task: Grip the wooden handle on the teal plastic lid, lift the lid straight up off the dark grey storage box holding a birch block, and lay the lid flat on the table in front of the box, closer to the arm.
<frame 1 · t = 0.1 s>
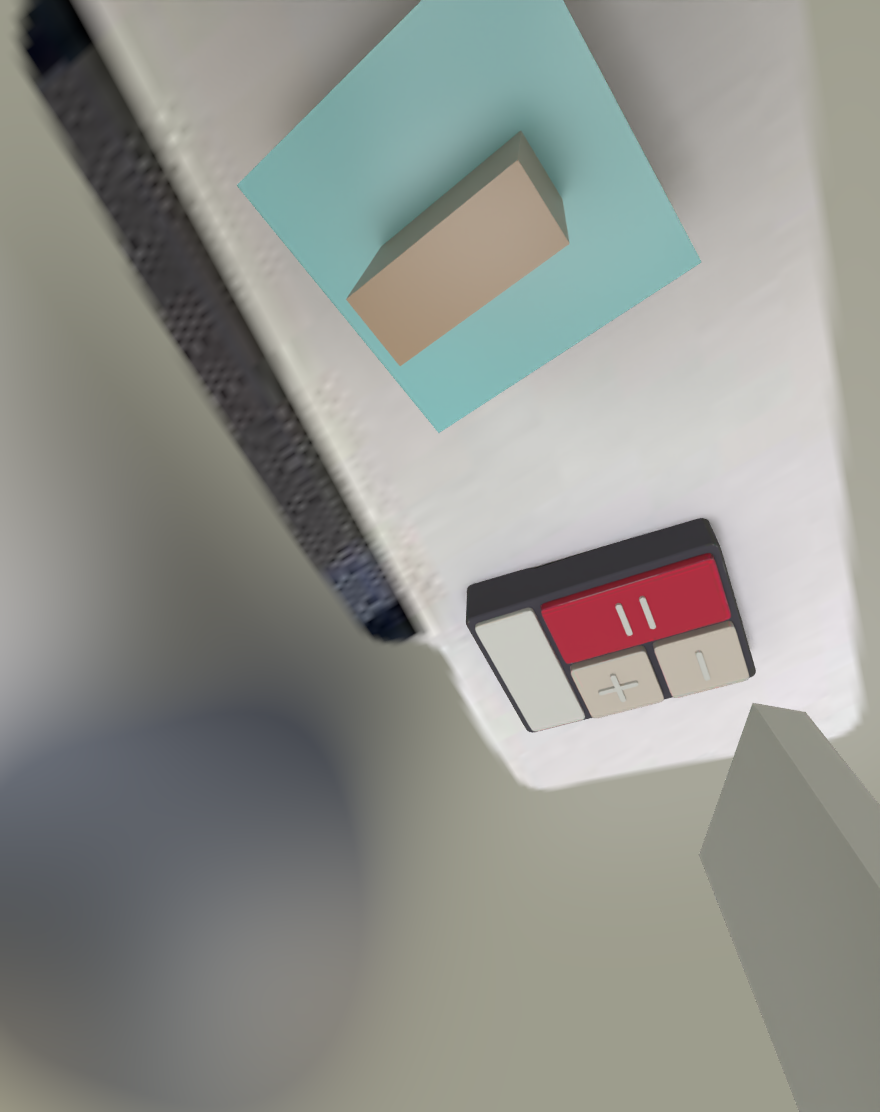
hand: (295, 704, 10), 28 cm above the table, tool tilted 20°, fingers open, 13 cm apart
lid: (470, 217, 25), point 7 cm above the table, touching storage box
calculator: (606, 611, 46), on the table
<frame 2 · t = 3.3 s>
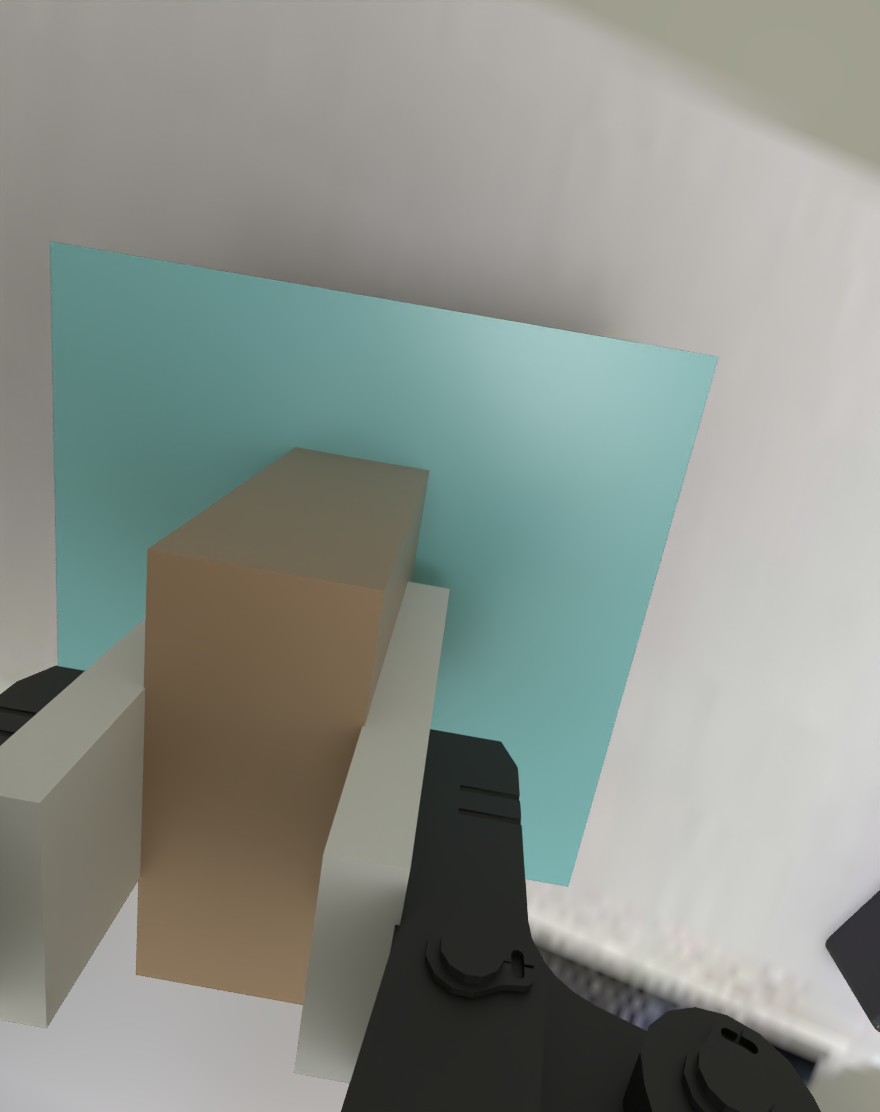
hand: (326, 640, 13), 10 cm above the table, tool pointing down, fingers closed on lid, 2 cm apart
lid: (352, 588, 15), point 7 cm above the table, touching gripper, storage box
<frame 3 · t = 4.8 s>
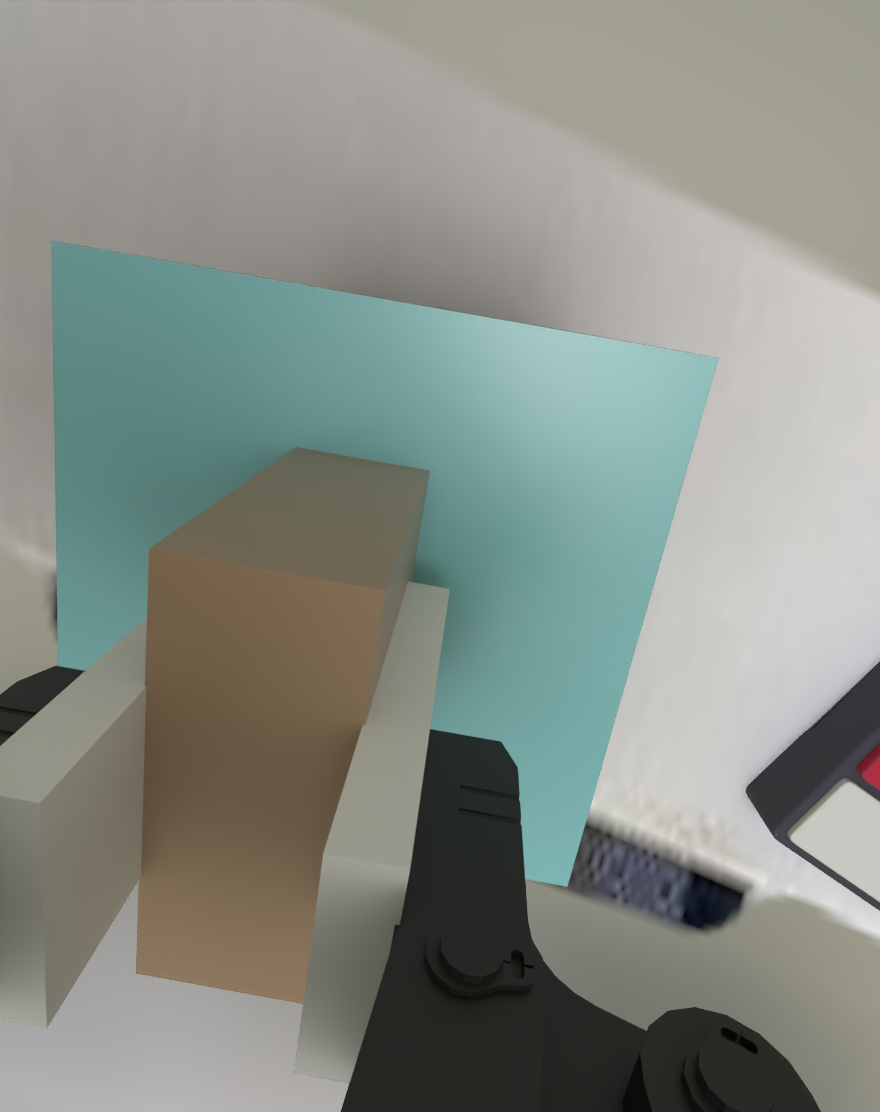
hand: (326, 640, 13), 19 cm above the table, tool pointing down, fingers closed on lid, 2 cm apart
lid: (352, 588, 15), point 16 cm above the table, touching gripper
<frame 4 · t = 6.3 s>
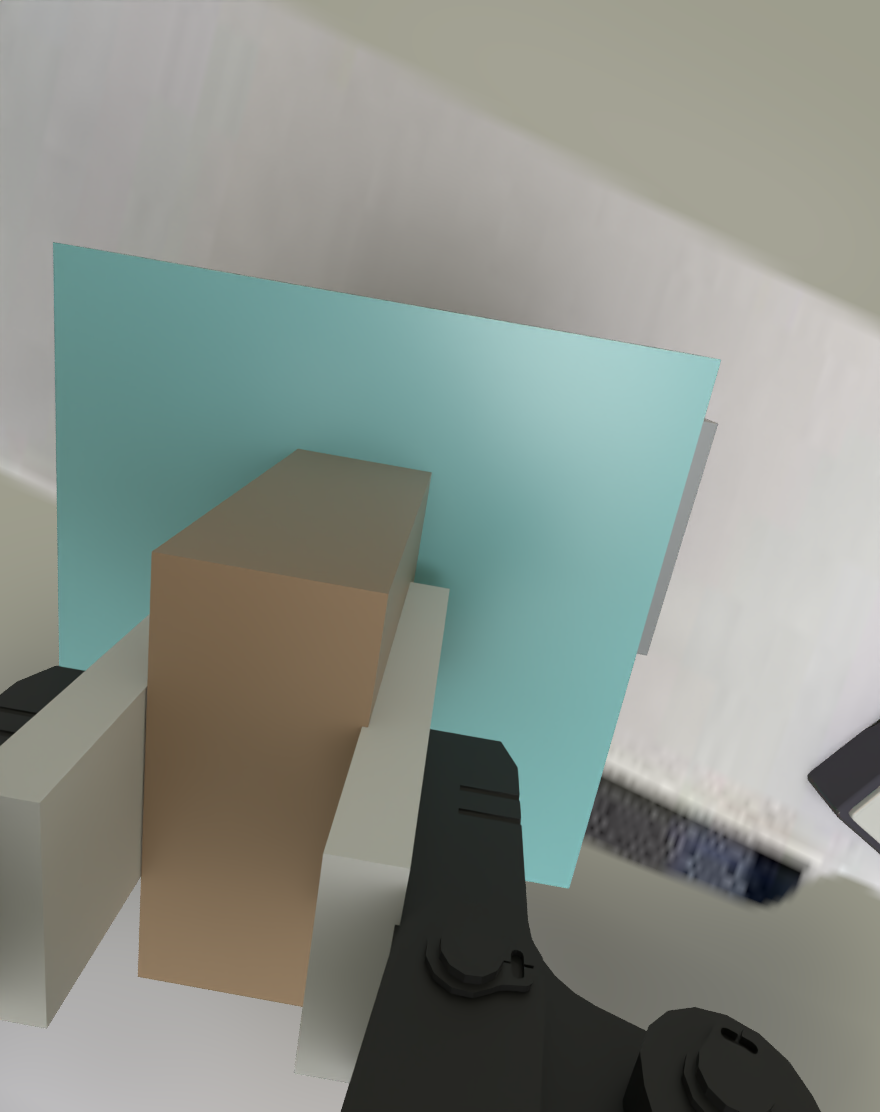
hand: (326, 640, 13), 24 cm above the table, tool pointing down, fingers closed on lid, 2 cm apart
lid: (354, 589, 15), point 21 cm above the table, touching gripper
storage box: (547, 485, 35), on the table
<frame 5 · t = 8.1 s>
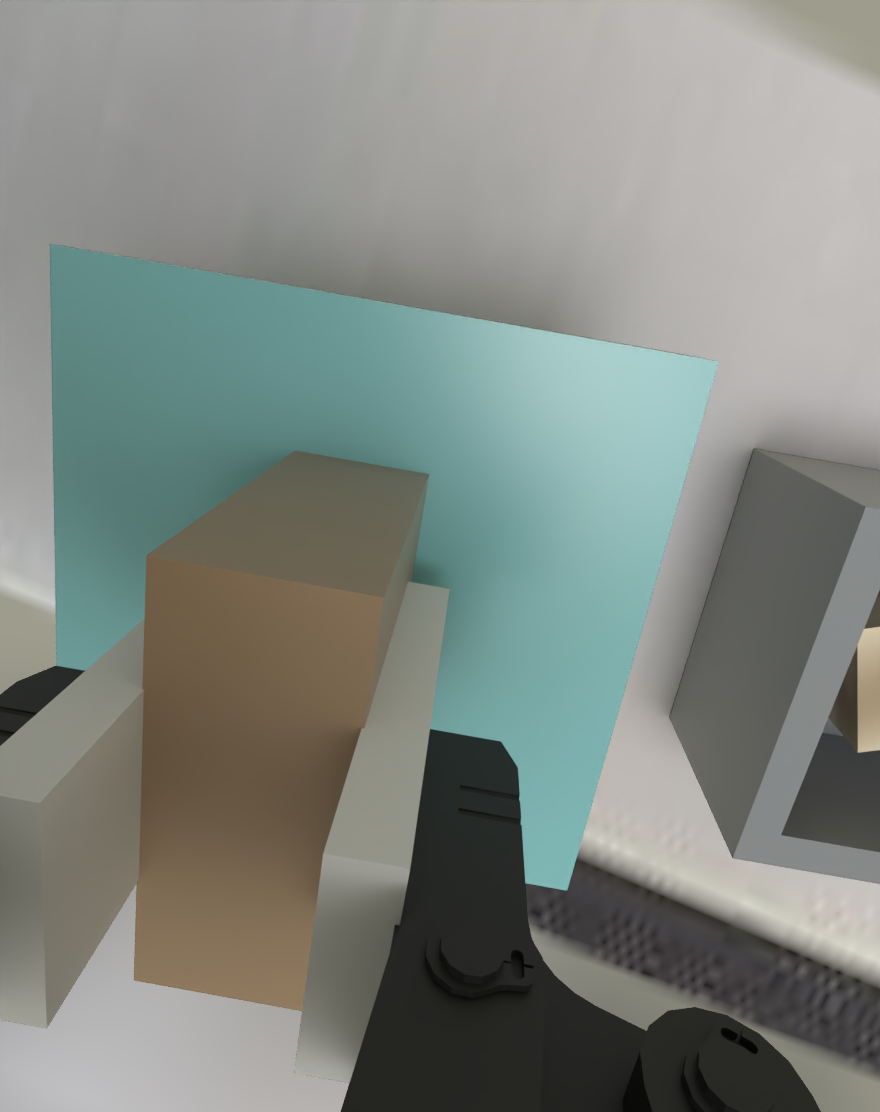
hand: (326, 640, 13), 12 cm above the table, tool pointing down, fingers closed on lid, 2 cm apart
lid: (352, 591, 15), point 9 cm above the table, touching gripper
storage box: (853, 617, 24), on the table
birch block: (868, 630, 23), point 1 cm above the table, touching storage box
when the fingers open (6 cm above the table, at t = 9.6 s): lid drops 2 cm, point 1 cm above the table.
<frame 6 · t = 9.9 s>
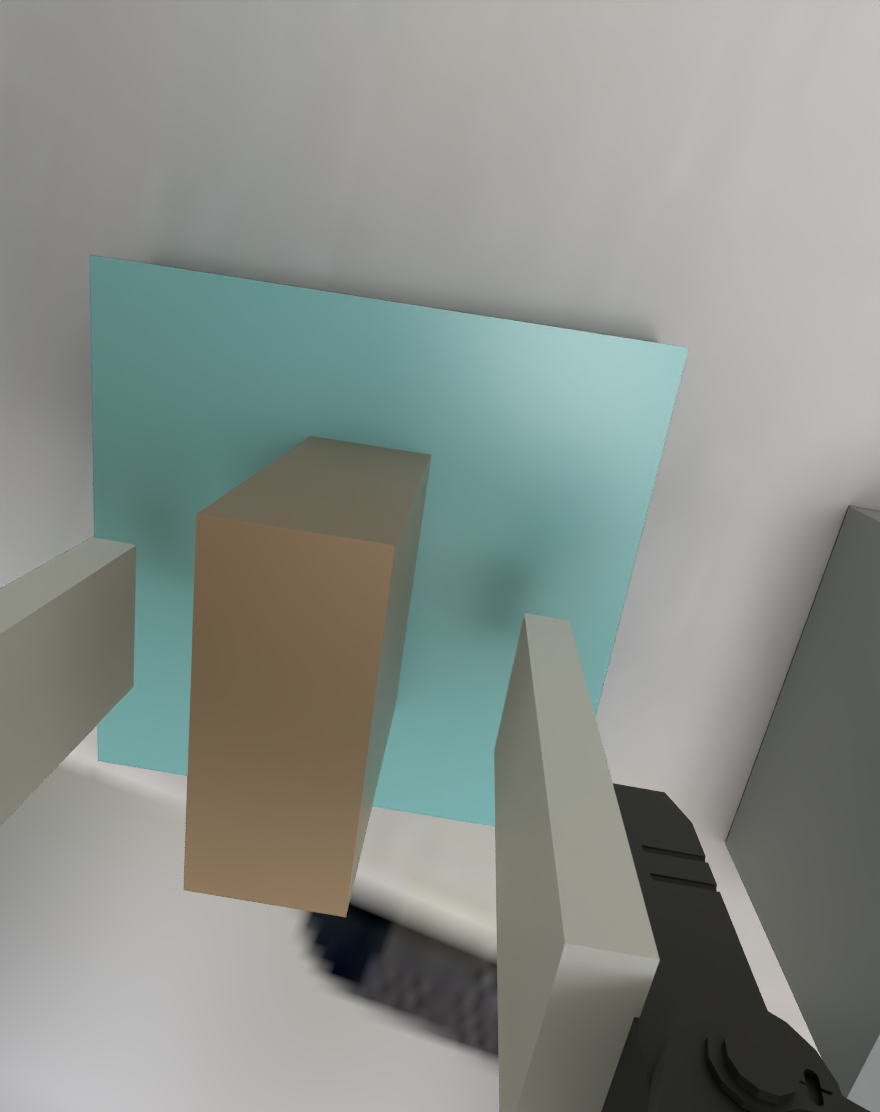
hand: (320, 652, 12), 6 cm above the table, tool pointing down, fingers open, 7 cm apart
lid: (363, 565, 16), point 1 cm above the table
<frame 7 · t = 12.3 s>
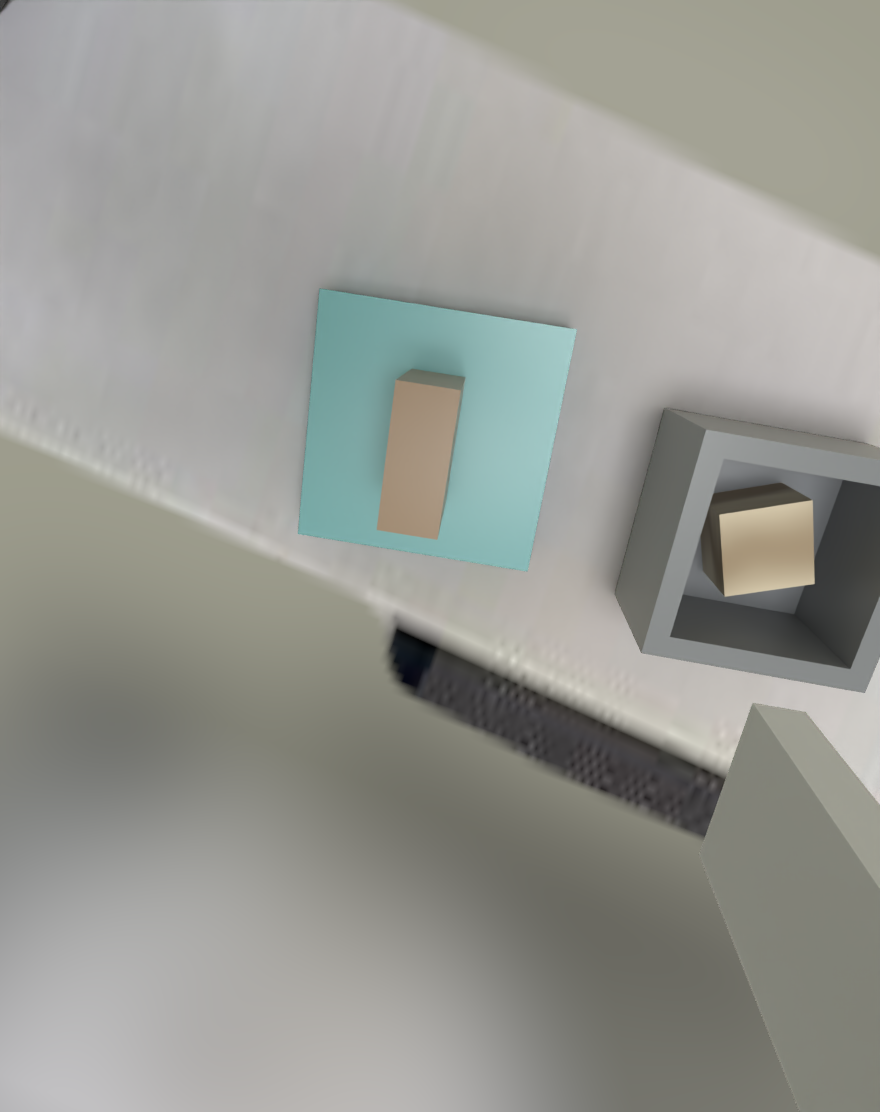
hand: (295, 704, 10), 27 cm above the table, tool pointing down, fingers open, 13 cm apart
lid: (430, 434, 34), point 1 cm above the table
storage box: (734, 522, 36), on the table
birch block: (741, 527, 35), point 1 cm above the table, touching storage box
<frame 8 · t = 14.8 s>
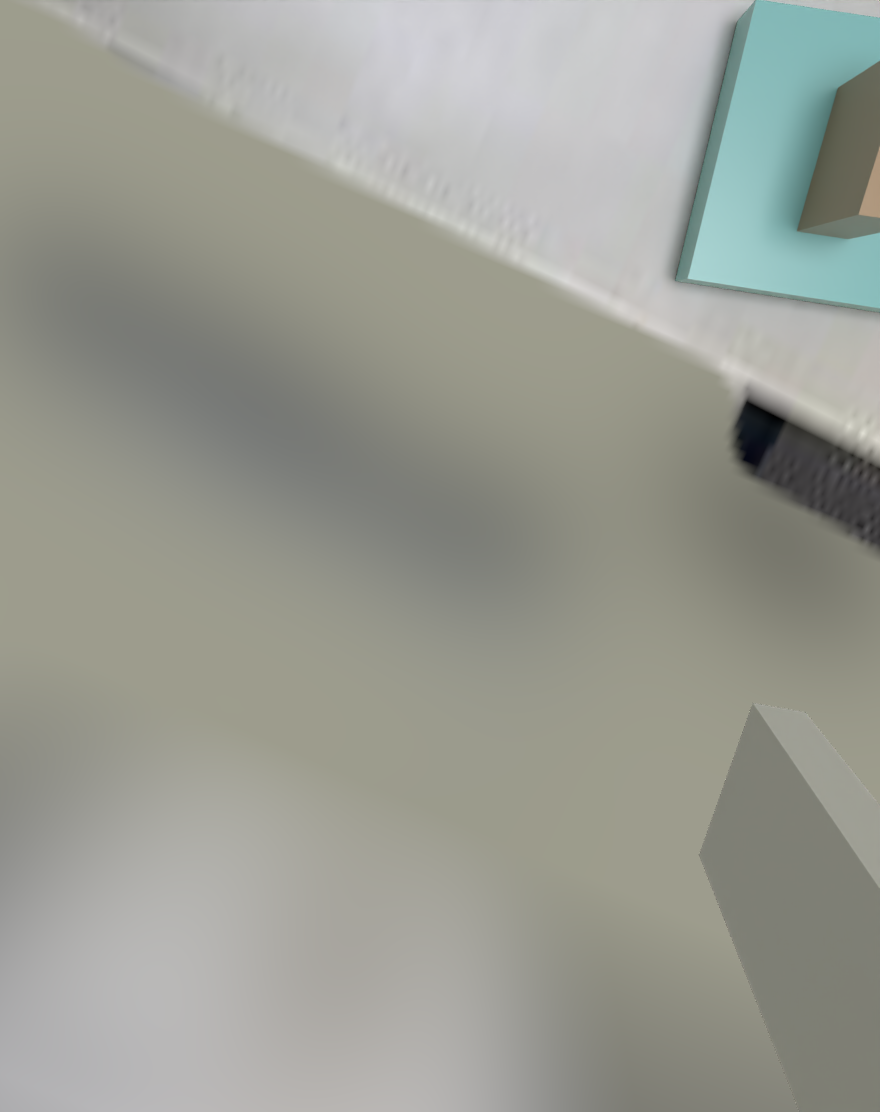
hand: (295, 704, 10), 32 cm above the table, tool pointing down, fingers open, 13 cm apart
lid: (833, 169, 34), point 1 cm above the table
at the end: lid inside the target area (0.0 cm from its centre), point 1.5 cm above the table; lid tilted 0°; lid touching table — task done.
